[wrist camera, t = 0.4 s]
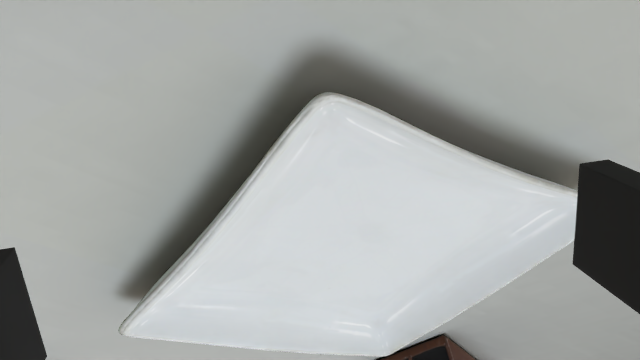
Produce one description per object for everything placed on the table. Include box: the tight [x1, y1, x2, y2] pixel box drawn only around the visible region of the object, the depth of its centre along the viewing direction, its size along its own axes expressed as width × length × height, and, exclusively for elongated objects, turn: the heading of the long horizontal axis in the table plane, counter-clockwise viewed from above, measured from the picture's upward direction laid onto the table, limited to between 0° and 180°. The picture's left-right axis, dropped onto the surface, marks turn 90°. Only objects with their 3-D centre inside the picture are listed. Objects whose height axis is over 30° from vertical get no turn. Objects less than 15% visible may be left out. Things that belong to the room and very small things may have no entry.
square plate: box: [118, 92, 578, 357], centre depth 41 cm, size 27×27×4 cm
